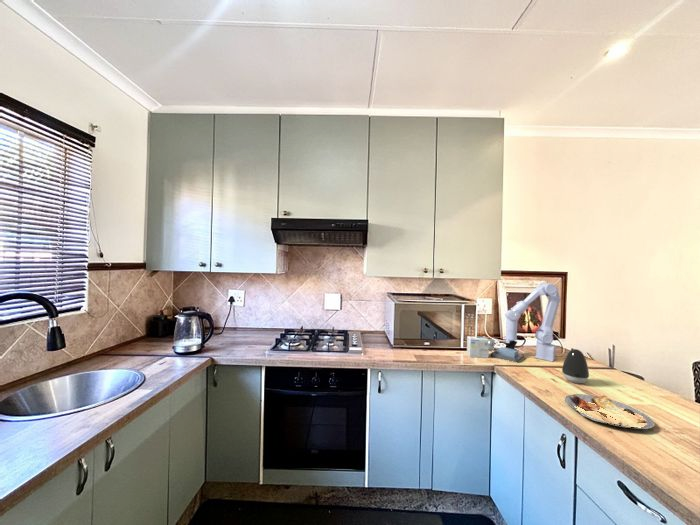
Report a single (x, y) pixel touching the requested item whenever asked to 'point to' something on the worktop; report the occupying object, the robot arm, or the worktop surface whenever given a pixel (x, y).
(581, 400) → the food plate
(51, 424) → the worktop surface
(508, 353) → the carton
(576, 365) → the dark grey rounded dome
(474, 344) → the light bulb box
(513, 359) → the display bay
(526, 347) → the worktop surface
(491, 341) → the grey metal canister
